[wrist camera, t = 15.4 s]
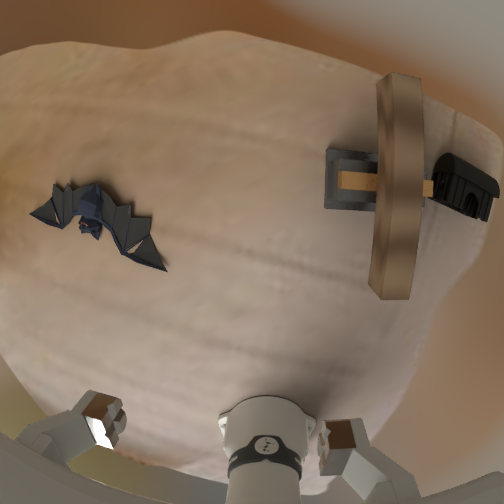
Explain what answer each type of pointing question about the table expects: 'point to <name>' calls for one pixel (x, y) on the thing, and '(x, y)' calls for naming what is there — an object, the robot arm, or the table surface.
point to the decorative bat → (101, 220)
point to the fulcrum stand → (355, 181)
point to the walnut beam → (398, 186)
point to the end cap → (463, 187)
